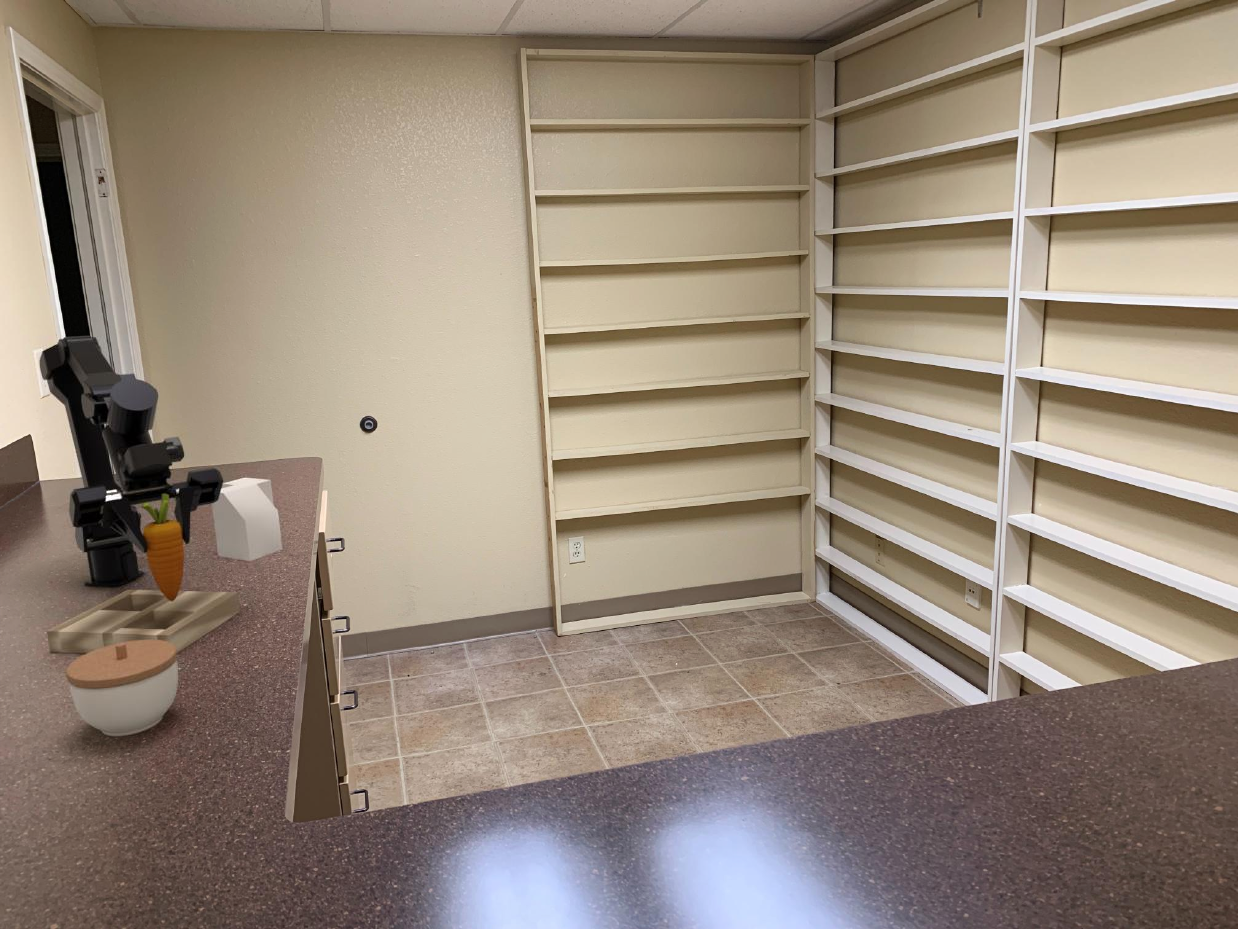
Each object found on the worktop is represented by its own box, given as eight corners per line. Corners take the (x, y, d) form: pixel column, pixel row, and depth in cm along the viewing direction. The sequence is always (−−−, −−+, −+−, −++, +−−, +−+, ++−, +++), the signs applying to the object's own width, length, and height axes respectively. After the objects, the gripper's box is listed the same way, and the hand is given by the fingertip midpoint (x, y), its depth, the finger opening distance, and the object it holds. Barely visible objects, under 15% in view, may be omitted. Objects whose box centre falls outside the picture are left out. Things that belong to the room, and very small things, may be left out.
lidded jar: (83, 713, 102) (70, 636, 101) (186, 693, 107) (175, 619, 105) (70, 757, 93) (56, 673, 91) (184, 733, 97) (172, 652, 95)
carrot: (160, 610, 120) (144, 502, 117) (146, 601, 123) (131, 496, 120) (197, 600, 123) (183, 495, 120) (183, 592, 127) (169, 489, 123)
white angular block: (252, 538, 171) (245, 477, 169) (296, 544, 166) (289, 481, 164) (205, 554, 162) (197, 490, 160) (250, 561, 157) (242, 495, 155)
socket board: (50, 652, 120) (46, 631, 119) (130, 608, 136) (128, 589, 135) (172, 656, 117) (168, 635, 117) (240, 611, 133) (237, 592, 132)
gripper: (59, 429, 115) (92, 529, 109) (210, 411, 127) (247, 500, 121) (56, 479, 122) (87, 574, 117) (199, 458, 134) (234, 543, 129)
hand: (167, 546), depth 121 cm, fingers closed on carrot, 5 cm apart
